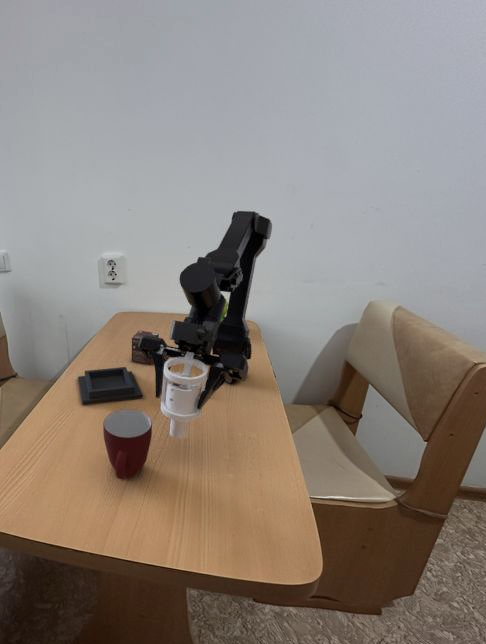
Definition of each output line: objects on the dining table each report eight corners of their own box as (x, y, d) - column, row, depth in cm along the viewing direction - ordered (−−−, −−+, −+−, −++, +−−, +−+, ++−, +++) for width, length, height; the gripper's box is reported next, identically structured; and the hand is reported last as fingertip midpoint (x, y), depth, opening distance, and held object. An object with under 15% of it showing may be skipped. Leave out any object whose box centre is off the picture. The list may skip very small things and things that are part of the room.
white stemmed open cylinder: (200, 425, 69) (211, 355, 62) (194, 451, 63) (205, 376, 56) (163, 417, 71) (170, 347, 64) (154, 441, 65) (159, 367, 58)
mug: (150, 499, 59) (151, 449, 55) (100, 497, 60) (98, 447, 56) (150, 454, 69) (152, 409, 65) (107, 453, 69) (106, 408, 65)
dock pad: (131, 374, 98) (131, 364, 97) (142, 398, 87) (142, 387, 86) (78, 379, 95) (77, 370, 94) (82, 405, 84) (81, 394, 83)
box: (131, 361, 105) (130, 337, 102) (138, 353, 110) (138, 330, 107) (151, 365, 103) (152, 340, 99) (158, 356, 108) (159, 333, 105)
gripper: (142, 291, 64) (111, 375, 60) (253, 307, 56) (225, 406, 52) (160, 320, 73) (134, 394, 69) (257, 337, 65) (234, 422, 61)
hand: (177, 403), depth 63 cm, fingers closed on white stemmed open cylinder, 7 cm apart
